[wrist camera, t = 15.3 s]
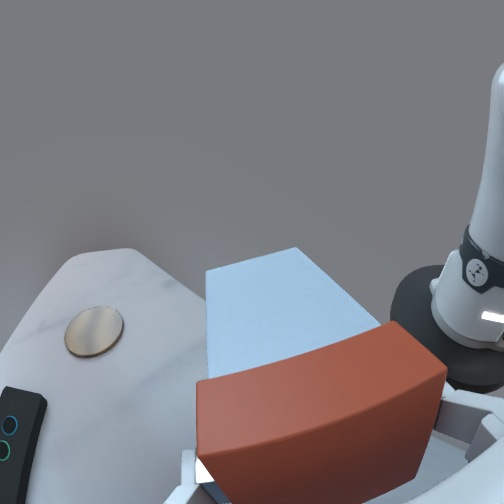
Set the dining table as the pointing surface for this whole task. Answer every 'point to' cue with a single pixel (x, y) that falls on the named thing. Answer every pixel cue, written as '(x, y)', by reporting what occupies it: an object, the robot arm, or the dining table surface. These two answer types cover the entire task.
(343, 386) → the container
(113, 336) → the coaster
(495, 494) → the robot arm
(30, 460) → the smart home device
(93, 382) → the dining table surface
